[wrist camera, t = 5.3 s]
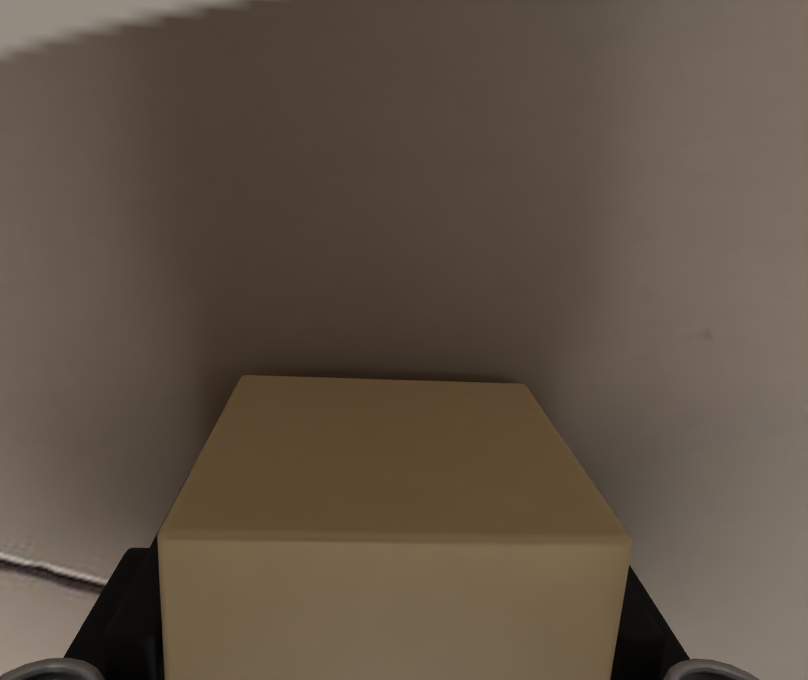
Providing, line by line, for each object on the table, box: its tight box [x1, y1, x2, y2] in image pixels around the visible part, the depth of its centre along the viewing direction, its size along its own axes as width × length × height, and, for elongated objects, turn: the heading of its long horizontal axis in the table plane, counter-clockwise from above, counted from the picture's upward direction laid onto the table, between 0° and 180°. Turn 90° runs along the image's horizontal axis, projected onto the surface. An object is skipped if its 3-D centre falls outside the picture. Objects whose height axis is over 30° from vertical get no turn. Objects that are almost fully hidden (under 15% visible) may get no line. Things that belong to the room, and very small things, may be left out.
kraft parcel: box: [157, 375, 632, 680], centre depth 9 cm, size 4×6×4 cm
